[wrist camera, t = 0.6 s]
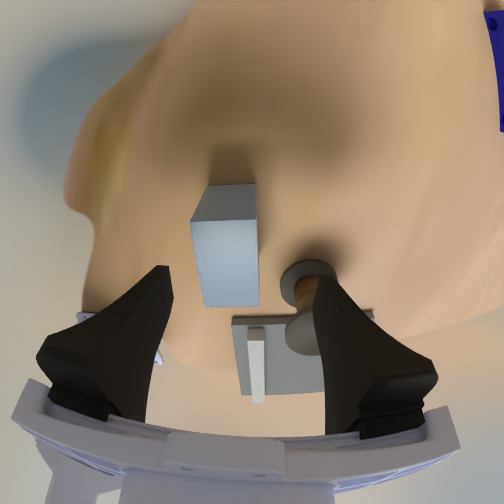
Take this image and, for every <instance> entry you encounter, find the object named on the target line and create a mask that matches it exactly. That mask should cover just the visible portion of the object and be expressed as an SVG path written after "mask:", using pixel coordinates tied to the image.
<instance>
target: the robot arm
mask: <svg viewBox="0 0 504 504" xmlns="http://www.w3.org/2000/svg"><path fill="white" fill-rule="evenodd" d="M173 299H174V296H173V290H172V284H171V278H170V271H169V266H162V265H157V266H156V267H154V268H153V269H152V270H151V271H150V272H149V273H148V274H147V275H145V276H144V277H143V278H142V279H141V280H140V281H139V282H138V283H137V284H135V285H134V286H133V287H132V288H131V289H130V290H128V291H127V292H126V293H125V294H124V295H122V296H121V297H120V298H119V299H117V300H116V301H115V302H113V303H112V304H111V305H109V306H108V307H106V308H105V309H103V310H102V311H100V312H99V313H97V314H92V313H82V312H78V313H77V314H76V317H77V319H78V322H77V324H76V325H74V326H72V327H70V328H67V329H65V330H62V331H60V332H57V333H54V334H51V335H48V336H47V338H46V339H45V341H44V343H43V345H42V346H41V348H40V350H39V352H38V353H37V355H36V360H37V363H38V365H39V367H40V368H41V370H42V371H43V372H44V373H45V375H46V376H47V377H48V378H49V379H50V381H51V382H52V383H53V384H52V387H51V389H50V388H49V387H48V386H46V385H44V384H42V383H40V382H38V381H35V380H33V379H31V378H29V379H28V381H27V383H26V385H25V387H24V389H23V391H22V394H21V396H20V398H19V400H18V402H17V405H16V407H15V409H14V412H13V414H12V416H11V419H12V420H13V421H14V422H15V423H16V424H18V425H19V426H20V427H21V428H23V429H24V430H25V431H27V432H28V433H29V434H31V435H32V436H33V437H35V438H36V439H35V441H36V443H37V445H36V447H37V449H38V451H39V453H40V454H41V456H42V457H43V459H44V460H45V462H46V463H47V465H48V466H49V468H50V469H51V471H52V472H53V475H52V479H51V482H50V486H49V489H48V493H47V496H46V500H45V504H96V500H97V497H98V495H100V494H104V493H109V492H113V491H117V490H121V494H120V499H119V504H335V502H334V494H337V493H342V492H348V491H352V490H357V489H361V488H365V487H369V486H373V485H377V484H381V483H384V482H388V481H391V480H394V479H397V478H401V477H404V476H407V475H410V474H413V473H415V472H418V471H421V470H424V469H427V468H429V467H431V466H433V465H435V464H437V463H439V462H440V461H442V460H444V459H446V458H447V457H449V456H451V455H453V454H454V453H456V452H457V451H459V450H460V444H459V441H458V437H457V434H456V430H455V427H454V424H453V421H452V418H451V415H450V412H449V409H448V406H442V407H439V408H436V409H432V410H429V411H427V412H425V413H423V412H422V408H423V407H424V402H423V398H424V397H425V396H426V395H427V394H428V393H429V392H430V391H431V390H432V389H433V387H434V386H435V385H436V383H437V380H438V374H437V372H436V370H435V367H434V365H433V363H432V361H431V360H430V359H428V358H426V357H424V356H422V355H420V354H418V353H416V352H414V351H413V350H411V349H409V348H407V347H406V346H404V345H403V344H401V343H400V342H398V341H397V340H396V339H394V338H393V337H391V336H390V335H389V334H387V333H386V332H385V331H384V330H382V329H381V328H380V327H379V326H378V325H377V324H376V323H374V322H373V321H372V320H371V319H370V318H369V317H368V316H367V315H366V314H365V313H364V312H363V311H362V310H361V309H360V308H359V307H358V305H357V304H356V303H355V302H354V301H353V300H352V299H351V298H350V296H349V295H348V294H347V293H346V292H345V290H344V289H343V288H342V287H341V286H340V284H339V283H338V282H337V281H336V279H335V278H334V277H333V276H332V275H320V277H319V281H318V285H317V289H316V293H315V297H314V301H313V305H312V311H313V322H314V328H315V333H316V337H317V342H318V346H319V351H320V356H321V360H322V366H323V376H324V389H325V435H321V436H307V437H243V436H242V437H241V436H228V435H216V434H206V433H198V432H191V431H184V430H177V429H171V428H166V427H160V426H156V425H151V424H146V423H145V416H146V406H147V398H148V391H149V385H150V380H151V373H152V369H153V365H154V364H159V365H162V364H163V363H164V360H163V358H162V356H161V354H160V351H159V349H158V347H159V344H160V341H161V339H162V336H163V333H164V330H165V328H166V325H167V322H168V319H169V317H170V313H171V309H172V304H173Z"/></svg>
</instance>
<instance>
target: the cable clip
mask: <svg viewBox="0 0 504 504" xmlns="http://www.w3.org/2000/svg"><path fill="white" fill-rule="evenodd" d="M483 13H484V17H485V20H486V24H487V28H488V32H489V36H490V40H491V45H492V50H493V56H494V61H495V68H496V75H497V84H498V94H499V109H500V131H501V132H503V133H504V10H501V11H491V12H483Z"/></svg>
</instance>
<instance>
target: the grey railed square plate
mask: <svg viewBox="0 0 504 504" xmlns="http://www.w3.org/2000/svg"><path fill="white" fill-rule="evenodd" d="M364 313H365V314H366V315H367V316H368V317H369V318H370V319H371V320H372V321H374V318H375V317H374V315H373V313H372V311H367V312H364ZM291 317H292V316H290V317H257V318H232V324H231V326H232V333H233V340H234V348H235V355H236V361H237V368H238V375H239V381H240V388H241V394H242V395H252V400H253V403H265V395H284V394H300V393H314V392H324V391H325V389H324V376H323V366H322V360H321V356H320V355H318V356H306V355H301V354H298V353H296V352H294V351H292V350H291V349H290V348H289V347H288V346H287V344H286V341H285V327H286V324H287V323H288V321H289V320H290V318H291Z"/></svg>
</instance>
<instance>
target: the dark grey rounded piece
mask: <svg viewBox="0 0 504 504" xmlns="http://www.w3.org/2000/svg"><path fill="white" fill-rule="evenodd" d="M320 275H332V276H333V277H334V278H335V279H336V281H337V282H338V280H337V277H336V274H335V272H334V270H333V268H332V267H331V266H330V265H328V264H327V263H325V262H323V261H320V260H304V261H300V262H298V263H295V264H294V265H292V266H291V267H289V268H288V269H287V270H286V271H285V273H284V274H283V276H282V278H281V281H280V289H281V295H282V297H283V299H284V300H285V301H286V302H287V303H288V304H289V305H291V306H293V307H296V310H297V313H296V314H295V315H294V316H292V317H291V318H290V320H289V321H288V323H287V324H286V327H285V341H286V344H287V346H288V347H289V348H290V349H291V350H292V351H294V352H296V353H298V354H301V355H306V356H318V355H320V351H319V346H318V342H317V337H316V333H315V328H314V322H313V311H312V305H313V301H314V297H315V293H316V289H317V285H318V281H319V277H320Z"/></svg>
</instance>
